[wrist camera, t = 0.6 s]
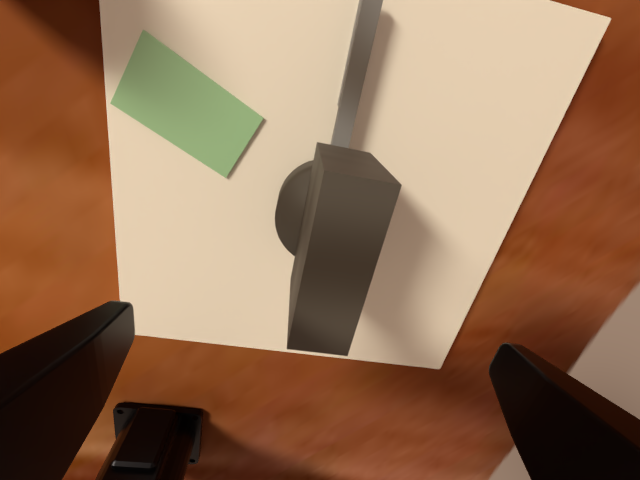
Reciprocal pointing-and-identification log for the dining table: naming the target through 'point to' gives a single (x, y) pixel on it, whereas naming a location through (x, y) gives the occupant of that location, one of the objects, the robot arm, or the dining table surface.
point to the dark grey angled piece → (336, 218)
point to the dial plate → (317, 126)
